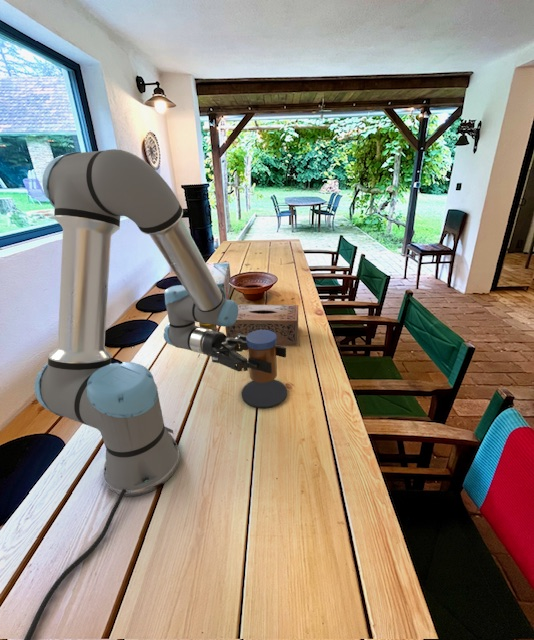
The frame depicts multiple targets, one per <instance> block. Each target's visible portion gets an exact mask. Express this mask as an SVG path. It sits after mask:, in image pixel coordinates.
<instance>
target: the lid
mask: <svg viewBox="0 0 534 640" xmlns="http://www.w3.org/2000/svg"><path fill="white" fill-rule="evenodd" d="M246 342H247V346H248V347H250V348H252V349H256V350H265V349H269V348H272V347H273V346H275V345H276V342H277V338H276V334H275V333H274V332H272V331H269V330H256V331H252V332H250V333H249V334H248V335H247V336H246ZM276 346H277V345H276Z"/></svg>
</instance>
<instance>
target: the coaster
mask: <svg viewBox="0 0 534 640" xmlns="http://www.w3.org/2000/svg"><path fill="white" fill-rule="evenodd" d="M240 395H241V399H242V401H243V402H244V403H245V405H248V406H250V407H252V408H255V409H264V410H265V409H272V408H275V407H278V406H279V405H281V404H282V403H283V402H285V400H286V399H287V397H288V388H287V387H286V385H285V384H283V383H282V382H281V381H280V380H277V379H274V380H272V381H270V382H267V383H258V382H255V381H253V380H251V381H250V382H247V384H245V385H244V386H243V388H242V389H241V393H240Z"/></svg>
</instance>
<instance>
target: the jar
mask: <svg viewBox="0 0 534 640" xmlns="http://www.w3.org/2000/svg"><path fill="white" fill-rule="evenodd" d="M276 346H277V345H275V346H273V347H272V348H269V349H265V350H256V349H252V348H250V347H248V346H247V347H248V350H247V355H248V356H247V357H248V358H249V357H251V358H254V359H258V360H262V361H266V362H270V363H272V372H271V374H270V373H267V372H263V371H260V370H253V369H250V368H248V371H249V373H248V374H249V378H250V379H251V381H255V382H258V383H267V382H270V381H272V380H276V378H277V376H278V358H277V357H278V356H276ZM248 358H247V359H248Z"/></svg>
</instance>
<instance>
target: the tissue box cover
mask: <svg viewBox="0 0 534 640" xmlns="http://www.w3.org/2000/svg"><path fill="white" fill-rule="evenodd" d="M237 305H238V317H237V319H236V322H235V323H234V324H233V325H232V326H230V327H225V335H226V336H227V337H228V338H235V337H237V334H238V333H240V334H243V335H248V334H249V333H250V332H252V331H256V330H269V331H272V332H274V333H275V334H276V338H277V342H276V346H281V347H284V346H285V347H286V346H288V347H290V346H291V347H297V346H298V335H299V304H238V303H237Z"/></svg>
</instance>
